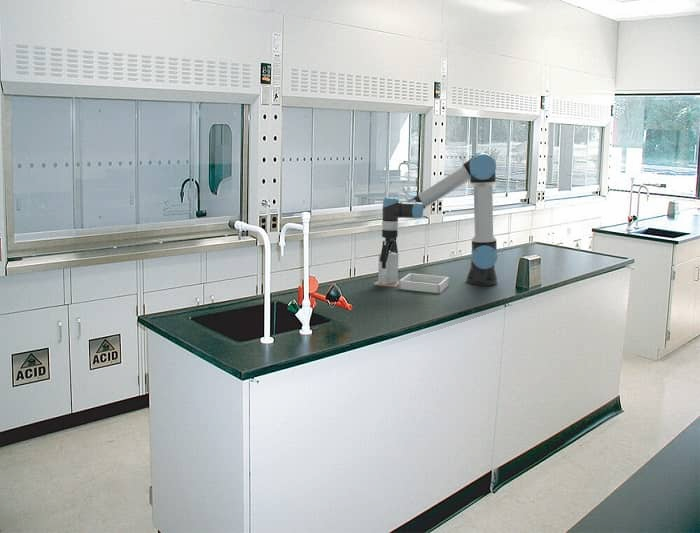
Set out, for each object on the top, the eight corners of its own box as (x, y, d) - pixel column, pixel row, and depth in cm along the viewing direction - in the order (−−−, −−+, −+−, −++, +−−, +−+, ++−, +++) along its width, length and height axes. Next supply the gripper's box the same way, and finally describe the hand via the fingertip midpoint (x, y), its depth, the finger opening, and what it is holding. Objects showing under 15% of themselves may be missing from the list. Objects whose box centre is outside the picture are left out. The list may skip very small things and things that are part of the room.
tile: (402, 282, 344) (402, 281, 344) (395, 287, 334) (395, 285, 334) (381, 280, 348) (381, 278, 348) (374, 284, 338) (374, 283, 338)
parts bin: (448, 285, 340) (449, 277, 339) (439, 293, 324) (439, 285, 323) (409, 280, 347) (410, 273, 347) (398, 288, 331) (399, 280, 330)
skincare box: (391, 280, 345) (391, 251, 342) (398, 283, 340) (399, 253, 337) (377, 282, 340) (378, 252, 337) (384, 285, 335) (385, 254, 332)
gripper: (390, 225, 348) (389, 266, 353) (373, 232, 326) (372, 276, 330) (405, 226, 345) (403, 267, 350) (388, 233, 323) (387, 277, 327)
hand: (388, 272), depth 340 cm, fingers open, 13 cm apart
